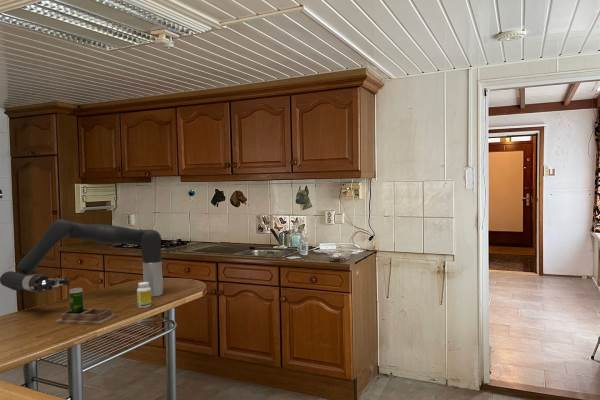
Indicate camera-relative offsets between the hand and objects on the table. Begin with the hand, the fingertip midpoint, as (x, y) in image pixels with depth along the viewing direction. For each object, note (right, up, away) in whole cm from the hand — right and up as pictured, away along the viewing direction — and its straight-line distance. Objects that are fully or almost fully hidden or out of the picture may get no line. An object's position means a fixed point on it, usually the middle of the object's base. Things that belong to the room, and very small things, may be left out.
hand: (60, 285), depth 195 cm
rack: (+14, -14, -6) cm, 21 cm away
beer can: (+10, -13, -5) cm, 17 cm away
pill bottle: (+33, -13, +12) cm, 37 cm away
